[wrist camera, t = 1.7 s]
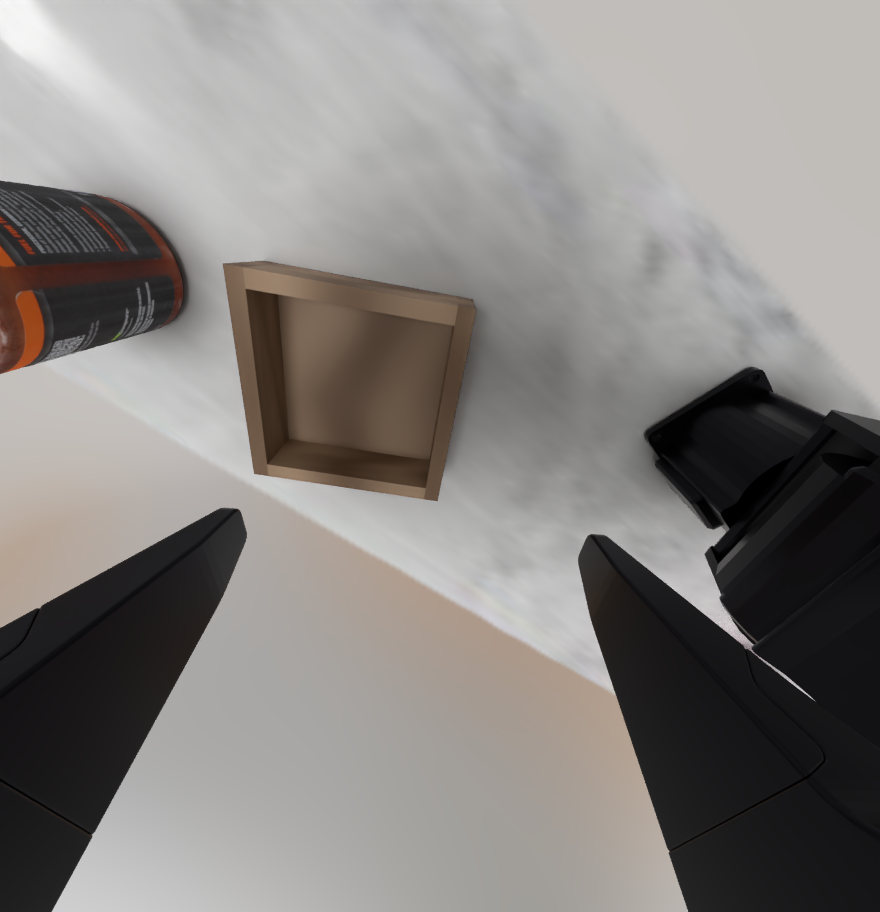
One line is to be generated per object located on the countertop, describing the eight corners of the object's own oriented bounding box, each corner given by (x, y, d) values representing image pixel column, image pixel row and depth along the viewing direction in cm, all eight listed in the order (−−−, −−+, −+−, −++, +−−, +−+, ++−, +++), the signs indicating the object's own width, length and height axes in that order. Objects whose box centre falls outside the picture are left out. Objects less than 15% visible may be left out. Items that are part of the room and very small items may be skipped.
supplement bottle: (54, 168, 15) (-624, 32, 6) (192, 231, 16) (-179, 208, 7) (70, 300, 18) (-359, 359, 9) (187, 347, 19) (-77, 445, 10)
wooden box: (472, 299, 18) (476, 309, 15) (439, 468, 23) (437, 501, 20) (263, 260, 17) (222, 263, 14) (280, 443, 22) (254, 473, 19)
